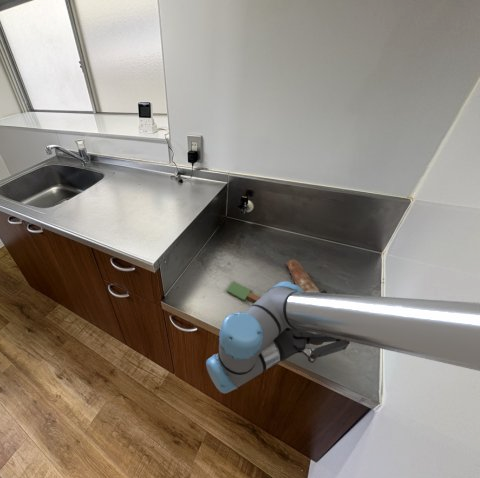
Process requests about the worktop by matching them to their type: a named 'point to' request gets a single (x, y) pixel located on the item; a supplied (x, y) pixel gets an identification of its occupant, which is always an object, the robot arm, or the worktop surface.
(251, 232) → the worktop surface
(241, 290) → the spatula
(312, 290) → the reddish brown tapered cylinder
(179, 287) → the worktop surface
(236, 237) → the worktop surface
